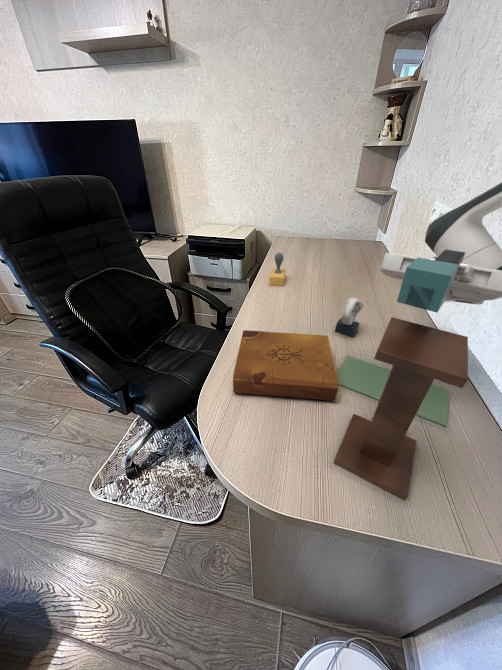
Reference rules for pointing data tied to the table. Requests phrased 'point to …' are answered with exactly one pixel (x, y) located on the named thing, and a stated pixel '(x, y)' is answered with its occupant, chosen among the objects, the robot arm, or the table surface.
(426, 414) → the mat
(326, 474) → the table surface
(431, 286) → the teal headed hammer
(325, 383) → the diary
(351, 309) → the watch
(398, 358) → the stand
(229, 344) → the table surface
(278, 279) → the rubber stamp
